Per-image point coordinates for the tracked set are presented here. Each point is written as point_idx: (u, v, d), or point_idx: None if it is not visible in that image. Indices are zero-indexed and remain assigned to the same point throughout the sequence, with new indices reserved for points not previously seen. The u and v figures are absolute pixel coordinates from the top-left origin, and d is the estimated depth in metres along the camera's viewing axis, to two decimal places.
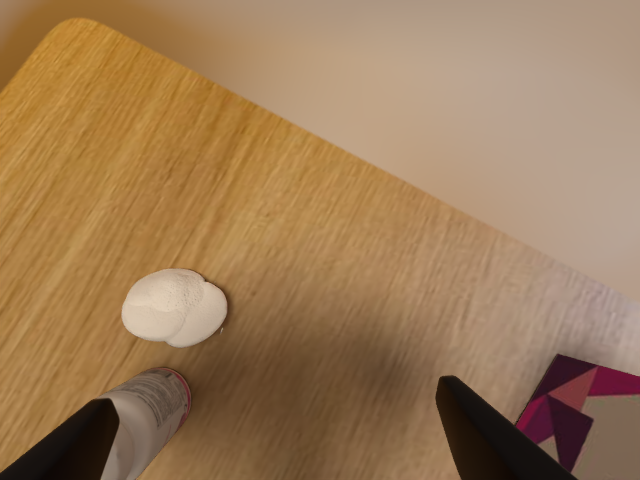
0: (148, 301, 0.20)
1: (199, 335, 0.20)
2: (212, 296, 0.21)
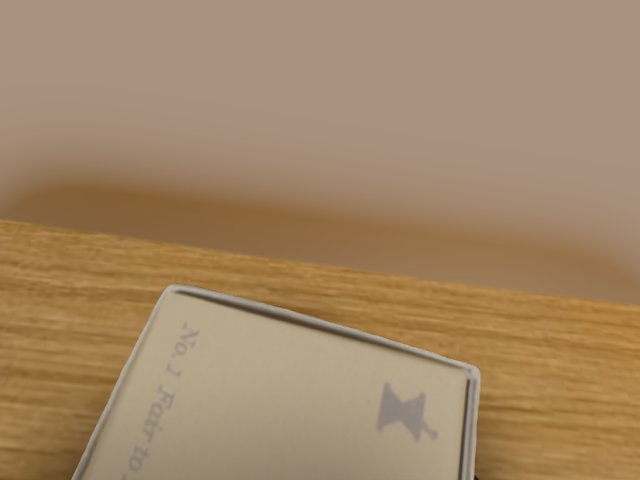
0: None
1: None
2: None
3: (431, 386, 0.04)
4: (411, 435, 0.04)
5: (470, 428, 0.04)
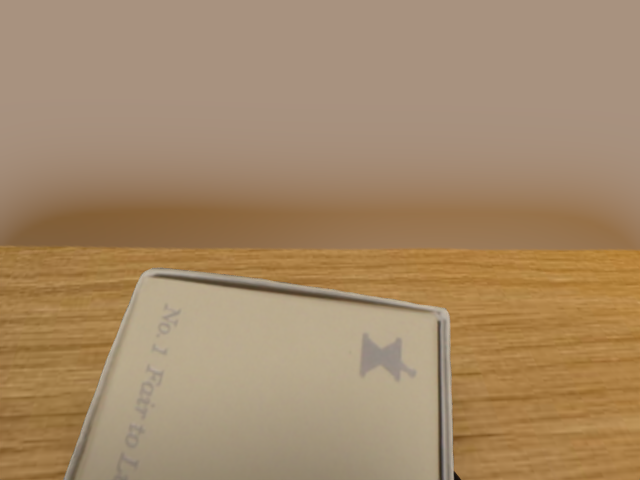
0: None
1: None
2: None
3: (407, 331, 0.04)
4: (392, 377, 0.04)
5: (444, 364, 0.04)
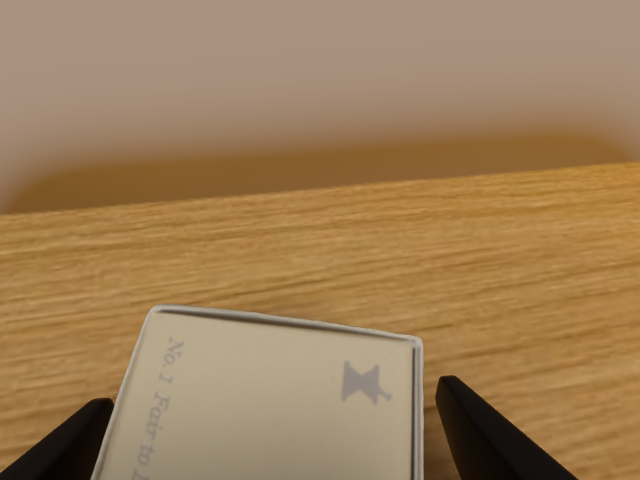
0: None
1: None
2: None
3: (384, 358, 0.05)
4: (370, 400, 0.04)
5: (419, 387, 0.04)
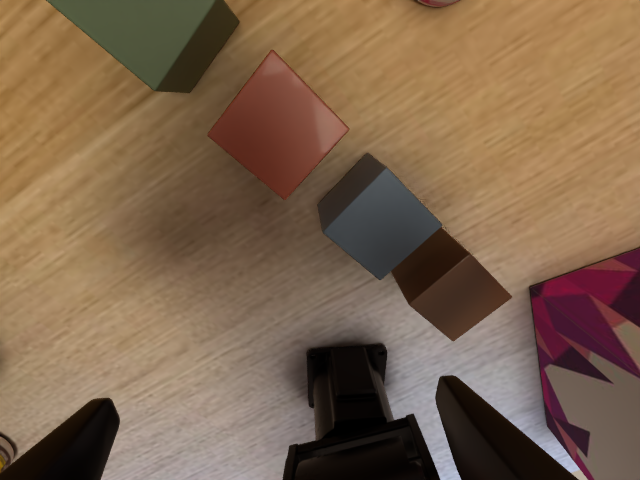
0: None
1: None
2: None
3: None
4: None
5: None
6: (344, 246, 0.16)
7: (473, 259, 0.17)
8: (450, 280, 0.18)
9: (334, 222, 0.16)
